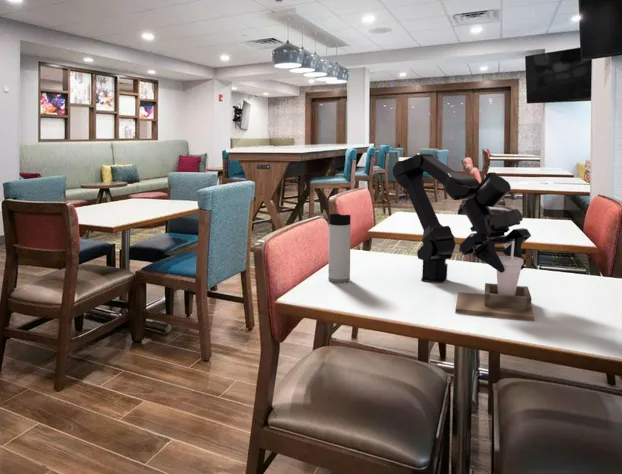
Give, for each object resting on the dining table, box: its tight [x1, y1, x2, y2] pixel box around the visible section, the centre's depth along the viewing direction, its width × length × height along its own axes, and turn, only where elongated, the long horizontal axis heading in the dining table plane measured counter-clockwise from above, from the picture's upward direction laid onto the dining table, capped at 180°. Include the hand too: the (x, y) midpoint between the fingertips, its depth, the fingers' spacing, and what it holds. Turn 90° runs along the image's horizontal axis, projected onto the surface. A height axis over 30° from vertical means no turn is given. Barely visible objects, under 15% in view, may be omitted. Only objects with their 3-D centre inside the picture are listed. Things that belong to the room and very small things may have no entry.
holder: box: [454, 282, 536, 322], centre depth 117 cm, size 17×14×4 cm
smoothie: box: [496, 241, 524, 296], centre depth 117 cm, size 6×6×14 cm
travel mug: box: [328, 212, 352, 284], centre depth 140 cm, size 6×7×20 cm
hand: (512, 270), depth 116 cm, fingers closed on smoothie, 6 cm apart
